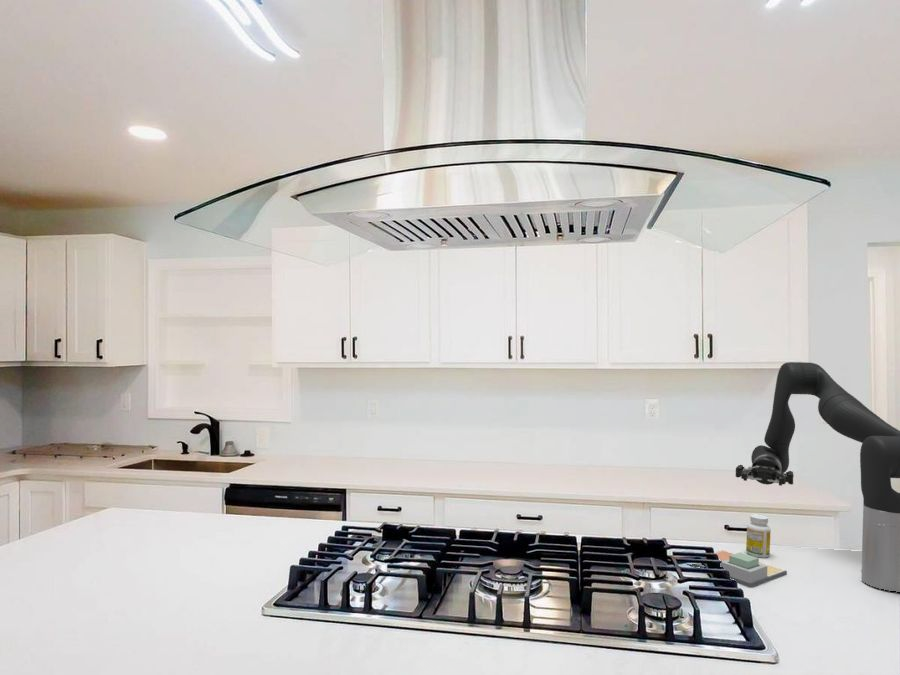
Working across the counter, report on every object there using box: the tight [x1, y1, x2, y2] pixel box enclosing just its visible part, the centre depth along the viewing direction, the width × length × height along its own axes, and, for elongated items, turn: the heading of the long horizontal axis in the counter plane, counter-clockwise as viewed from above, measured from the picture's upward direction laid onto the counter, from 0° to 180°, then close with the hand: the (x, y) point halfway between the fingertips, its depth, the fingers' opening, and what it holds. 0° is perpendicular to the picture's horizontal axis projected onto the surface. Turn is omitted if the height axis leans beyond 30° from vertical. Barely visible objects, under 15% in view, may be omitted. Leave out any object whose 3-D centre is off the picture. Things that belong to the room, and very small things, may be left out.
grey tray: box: [691, 550, 788, 588], centre depth 144 cm, size 16×15×3 cm
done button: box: [729, 551, 760, 570], centre depth 139 cm, size 4×4×2 cm
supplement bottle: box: [745, 513, 771, 559], centre depth 155 cm, size 5×5×10 cm
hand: (762, 479), depth 165 cm, fingers open, 8 cm apart
